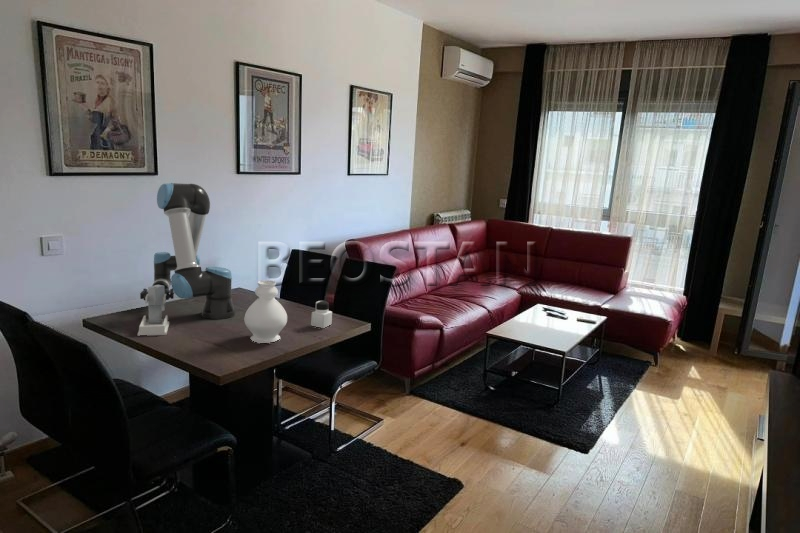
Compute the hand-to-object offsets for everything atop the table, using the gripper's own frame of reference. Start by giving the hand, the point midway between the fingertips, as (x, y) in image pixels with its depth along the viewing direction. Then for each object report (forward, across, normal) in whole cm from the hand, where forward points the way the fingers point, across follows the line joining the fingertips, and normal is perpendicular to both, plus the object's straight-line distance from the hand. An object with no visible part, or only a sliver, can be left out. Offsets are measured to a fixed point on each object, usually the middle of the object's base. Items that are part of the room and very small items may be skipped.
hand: (155, 300), depth 238 cm
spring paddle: (+5, 0, -9) cm, 10 cm away
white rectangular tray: (+10, 0, -10) cm, 15 cm away
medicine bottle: (+13, -73, -10) cm, 75 cm away
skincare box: (-5, 0, -7) cm, 9 cm away
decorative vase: (+28, -46, -10) cm, 55 cm away
